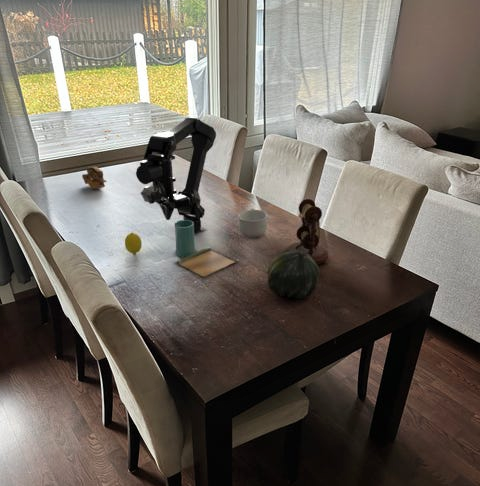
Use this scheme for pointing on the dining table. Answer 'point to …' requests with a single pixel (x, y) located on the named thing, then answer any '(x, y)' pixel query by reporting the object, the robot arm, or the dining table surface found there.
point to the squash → (293, 274)
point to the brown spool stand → (309, 233)
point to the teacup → (253, 222)
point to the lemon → (133, 243)
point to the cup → (184, 237)
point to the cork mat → (204, 262)
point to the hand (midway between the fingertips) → (168, 219)
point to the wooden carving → (94, 178)
